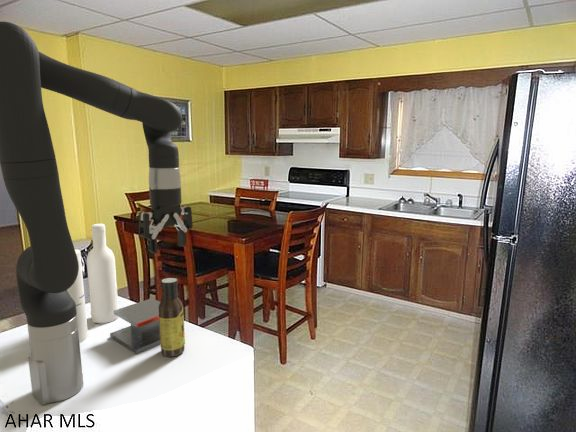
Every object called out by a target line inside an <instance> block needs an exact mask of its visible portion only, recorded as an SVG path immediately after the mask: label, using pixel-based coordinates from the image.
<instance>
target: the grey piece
mask: <svg viewBox="0 0 576 432" xmlns="http://www.w3.org/2000/svg"><path fill="white" fill-rule="evenodd" d="M160 302H161V301H159V300H157V299H155V298H153V297H150V298H148V299H145V300H142V301H138V302H136V303H134V304H133V303H132V304H130V305H127V306H123V307H121V308H120V307H119V309H117V310H114V314H115V315H116V316H118V318H120V319H121V320H123V321H125V322H126V323H128V324H130V325H129V326H125V327H124V328H121V329H118V330H115V331H112V332H110V333H109V337H110V338H111V339H112V340H114V341H115V342H116V343H119V344H120V345H121V346H123V347H125V348H126V349H128V350H129V351H131V352H132V353H133V354H135V355H139V354H141V353H143V352H146V351H147V350H150V349H152V348H155V347H157V346H159V345H160V330H159V304H160Z"/></svg>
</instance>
